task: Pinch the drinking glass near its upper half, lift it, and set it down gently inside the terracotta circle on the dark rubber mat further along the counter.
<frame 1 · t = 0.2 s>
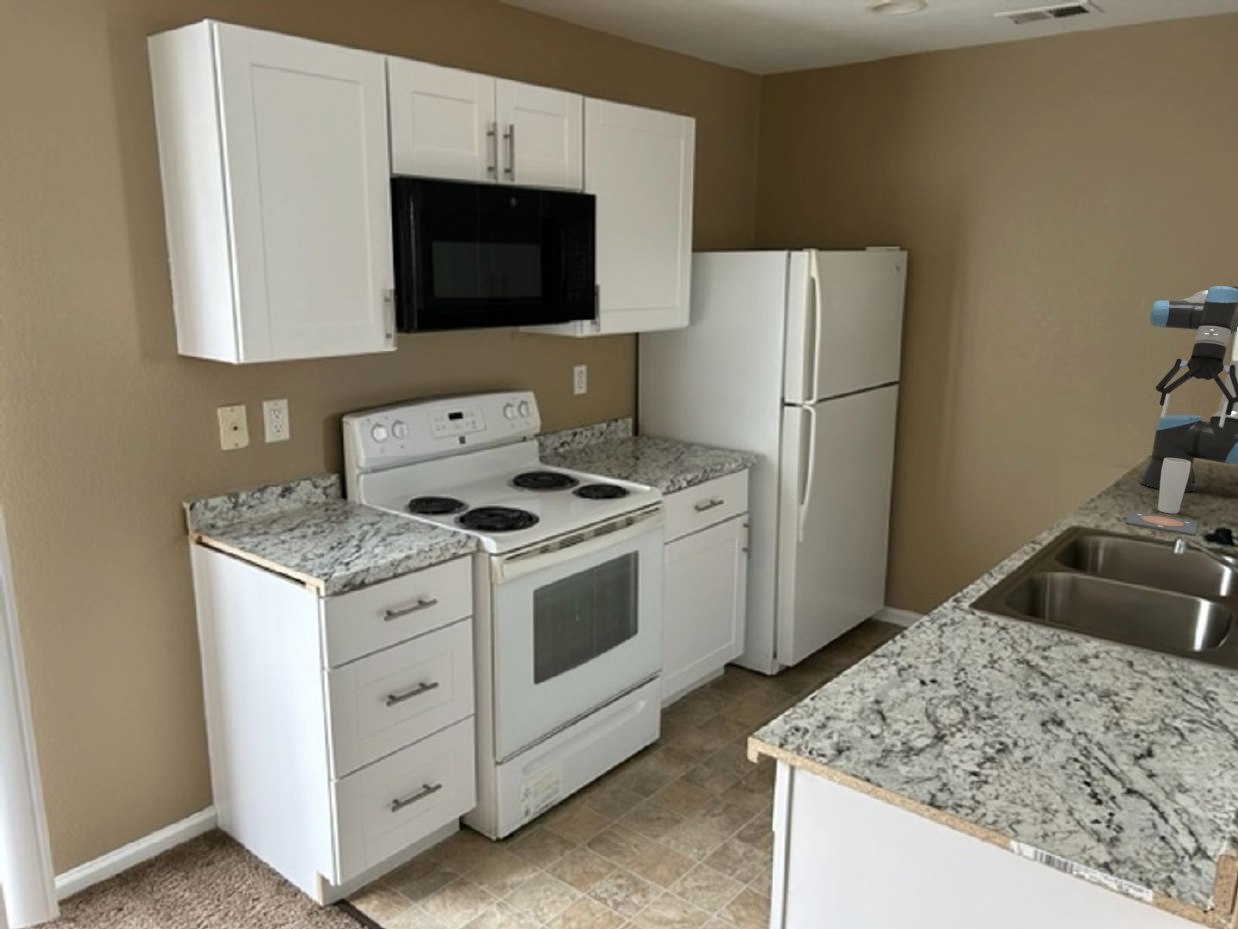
hand: (1191, 422, 249), 27 cm above the worktop, tool pointing down, fingers open, 13 cm apart
coaster mat: (1161, 523, 249), on the worktop
drinking glass: (1167, 512, 263), on the worktop
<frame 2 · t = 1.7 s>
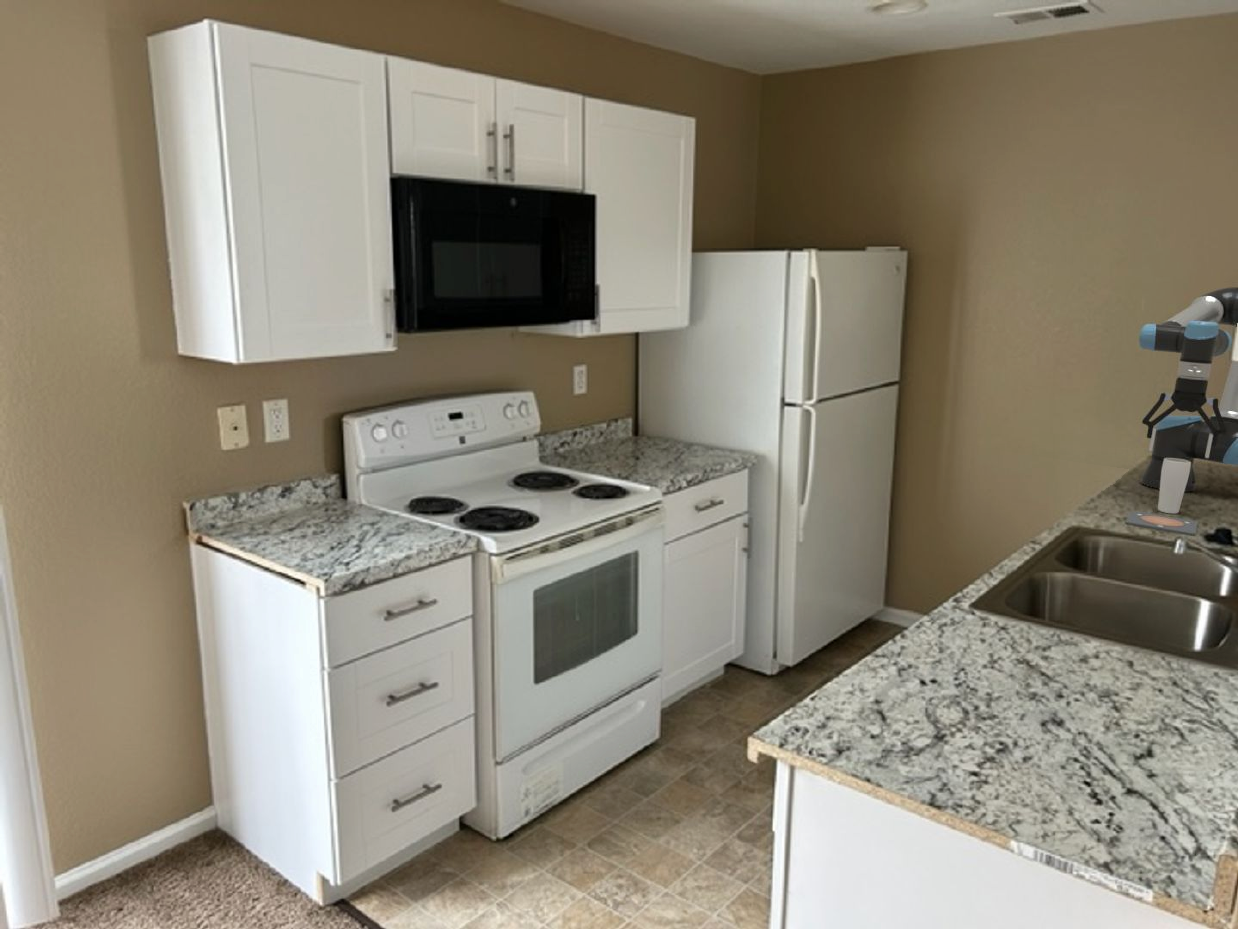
hand: (1178, 453, 259), 17 cm above the worktop, tool pointing down, fingers open, 13 cm apart
nothing on the worktop moved.
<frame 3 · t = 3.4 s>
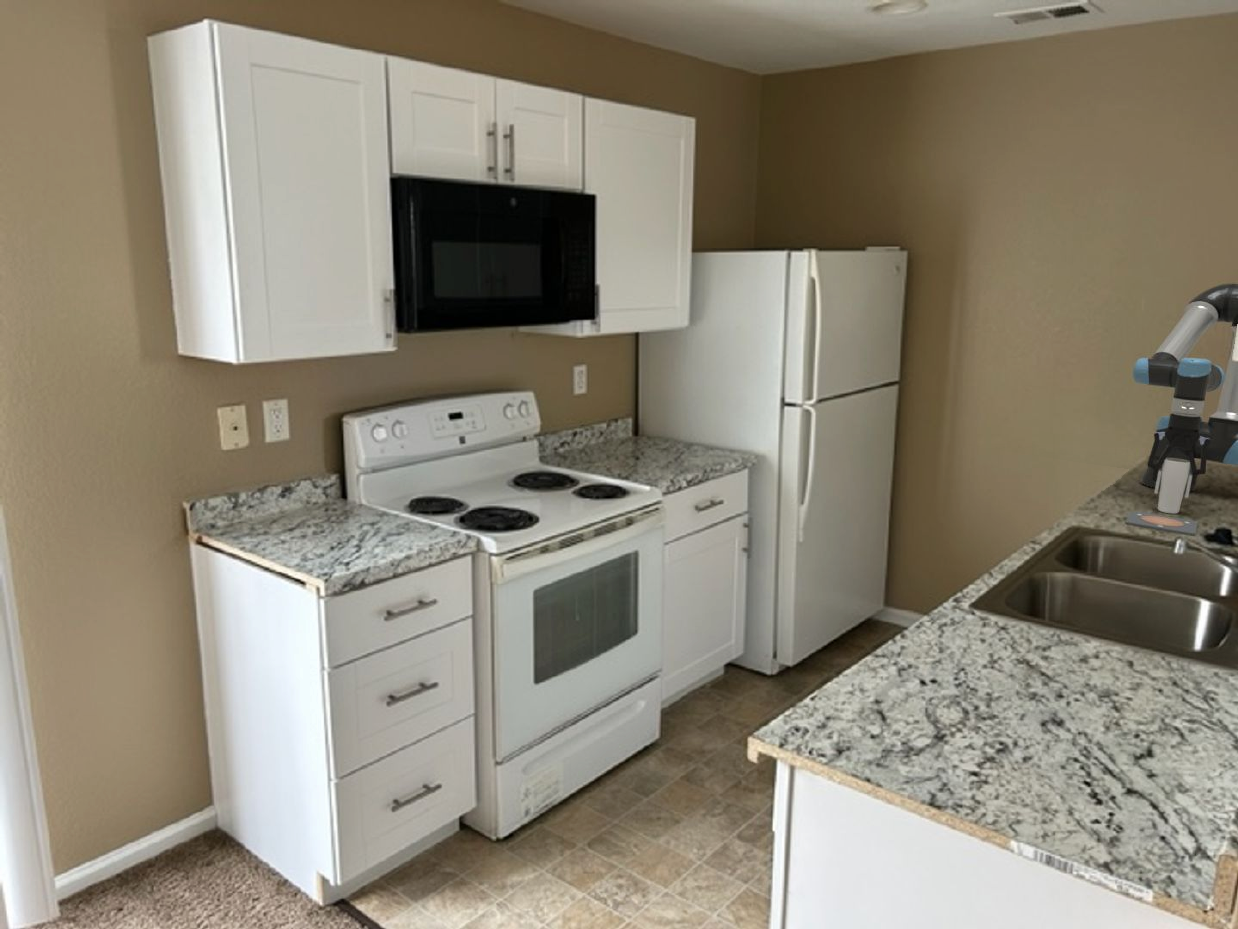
hand: (1171, 494, 262), 5 cm above the worktop, tool pointing down, fingers closed on drinking glass, 7 cm apart
drinking glass: (1167, 512, 263), on the worktop, touching gripper
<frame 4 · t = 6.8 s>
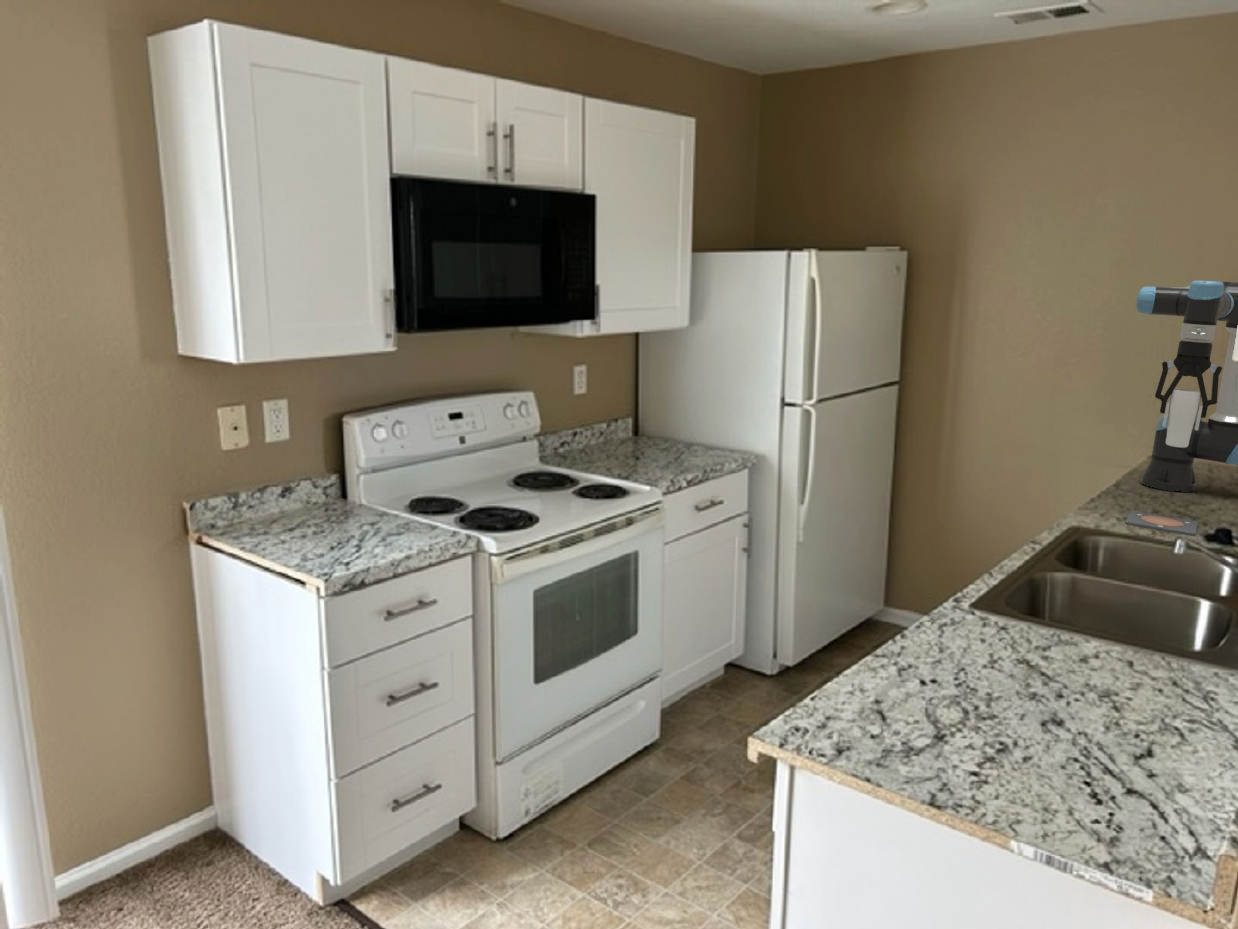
hand: (1179, 427, 247), 26 cm above the worktop, tool pointing down, fingers closed on drinking glass, 7 cm apart
drinking glass: (1176, 446, 248), point 21 cm above the worktop, touching gripper
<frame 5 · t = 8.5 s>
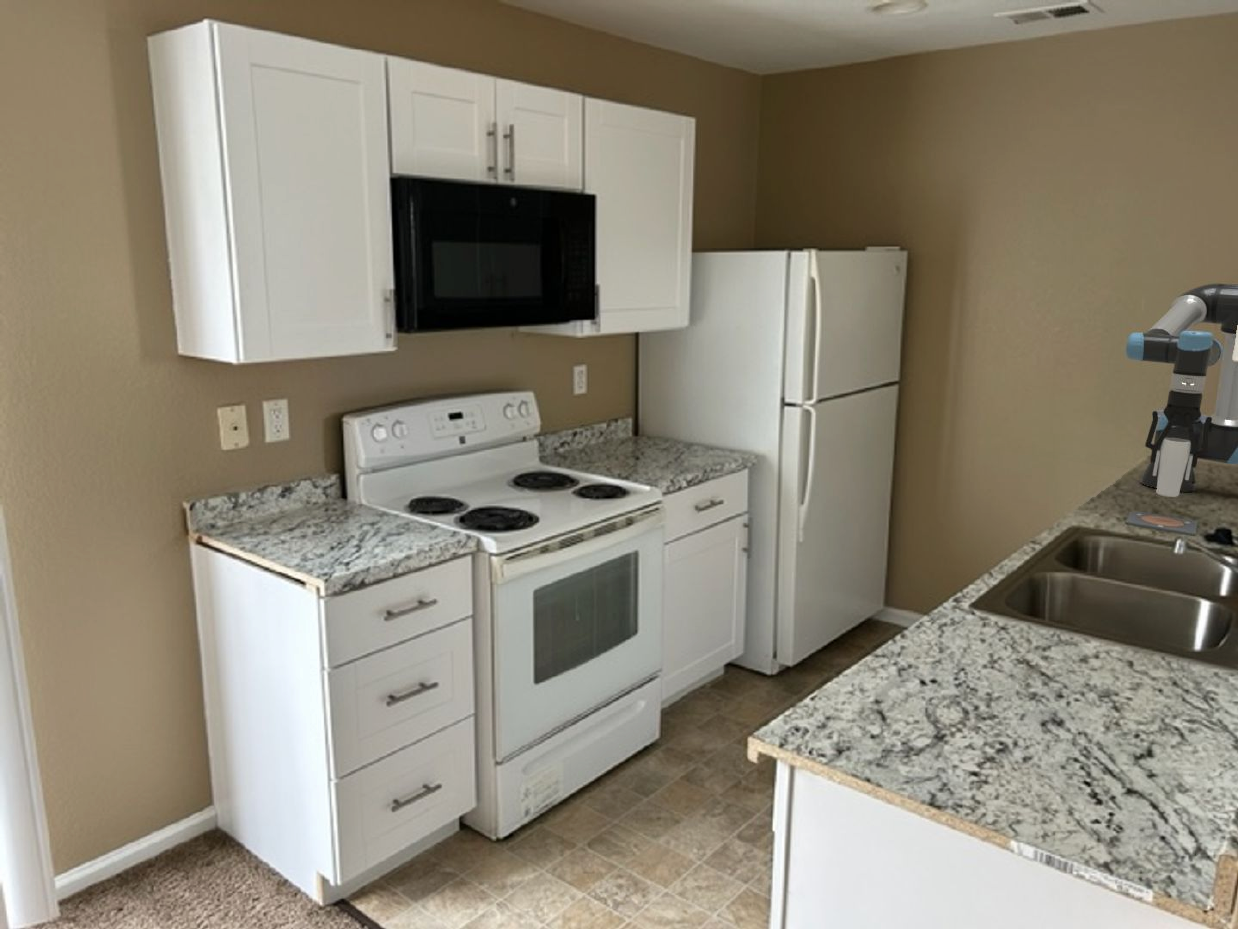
hand: (1170, 476, 246), 13 cm above the worktop, tool pointing down, fingers closed on drinking glass, 7 cm apart
drinking glass: (1166, 495, 247), point 8 cm above the worktop, touching gripper
when the fingers open (7 cm above the worktop, at t = 10.1 s): drinking glass drops 1 cm, resting on coaster mat.
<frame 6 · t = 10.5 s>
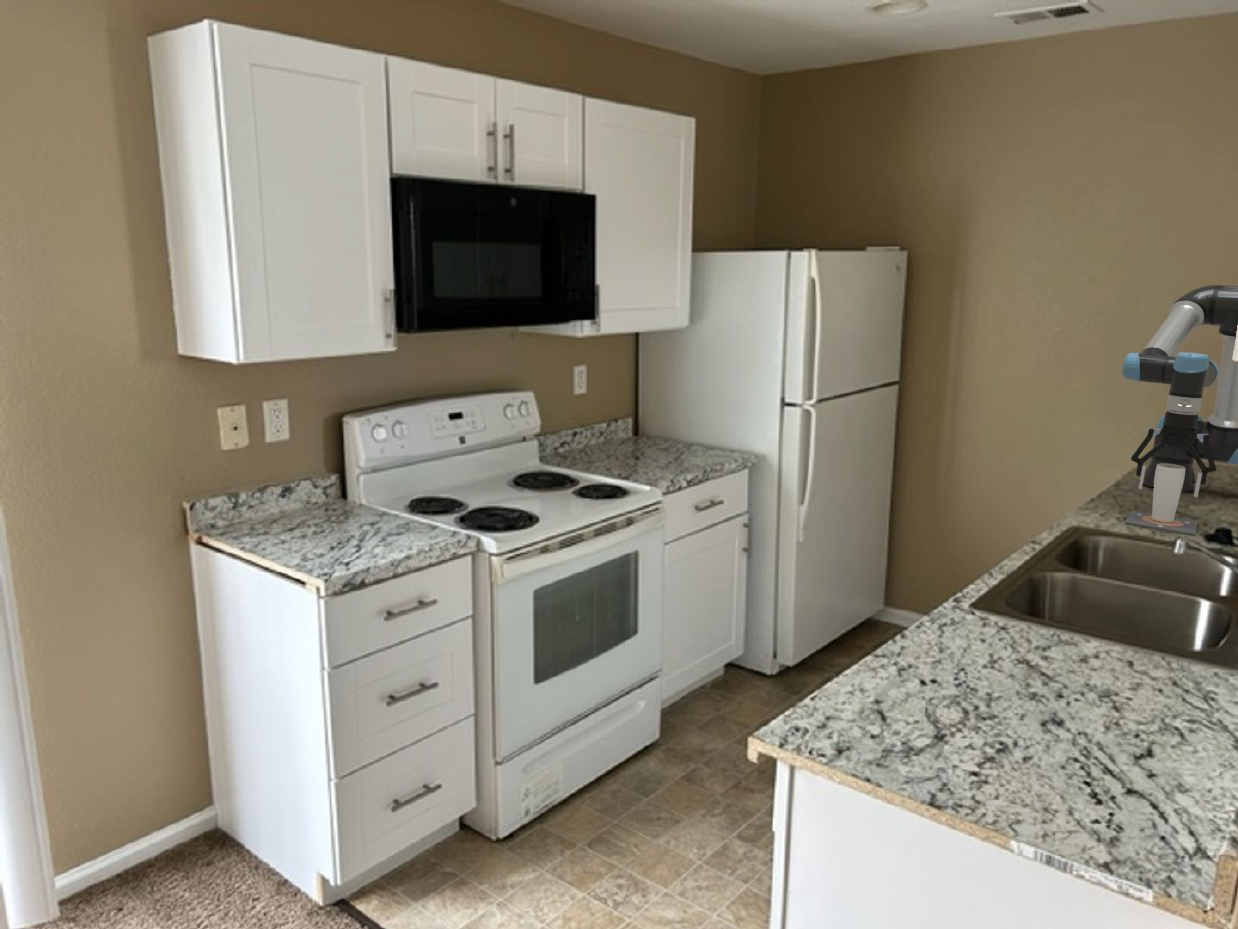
hand: (1167, 492, 247), 9 cm above the worktop, tool pointing down, fingers open, 12 cm apart
drinking glass: (1162, 521, 249), point 1 cm above the worktop, touching coaster mat
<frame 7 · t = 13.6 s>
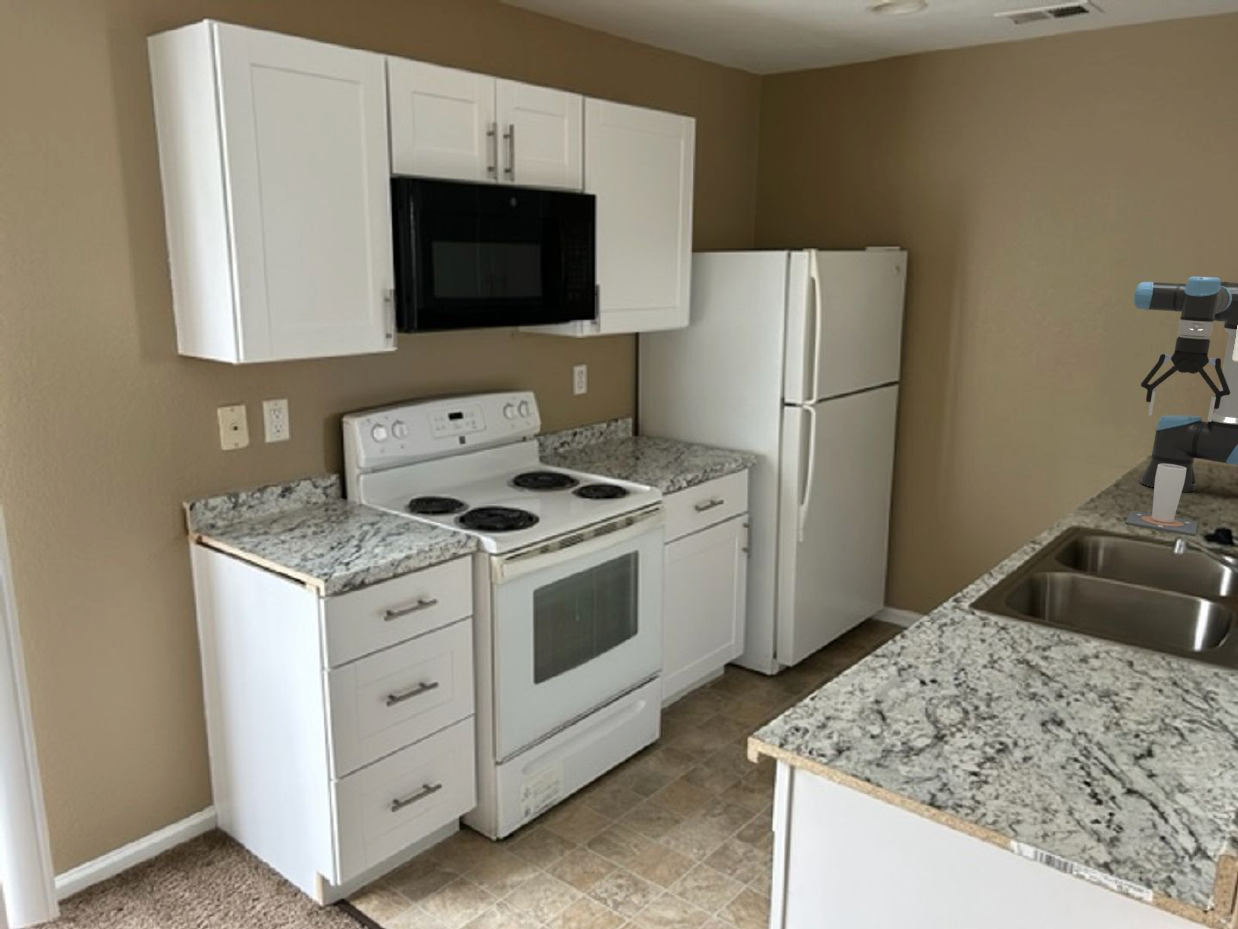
hand: (1179, 417, 246), 28 cm above the worktop, tool pointing down, fingers open, 13 cm apart
nothing on the worktop moved.
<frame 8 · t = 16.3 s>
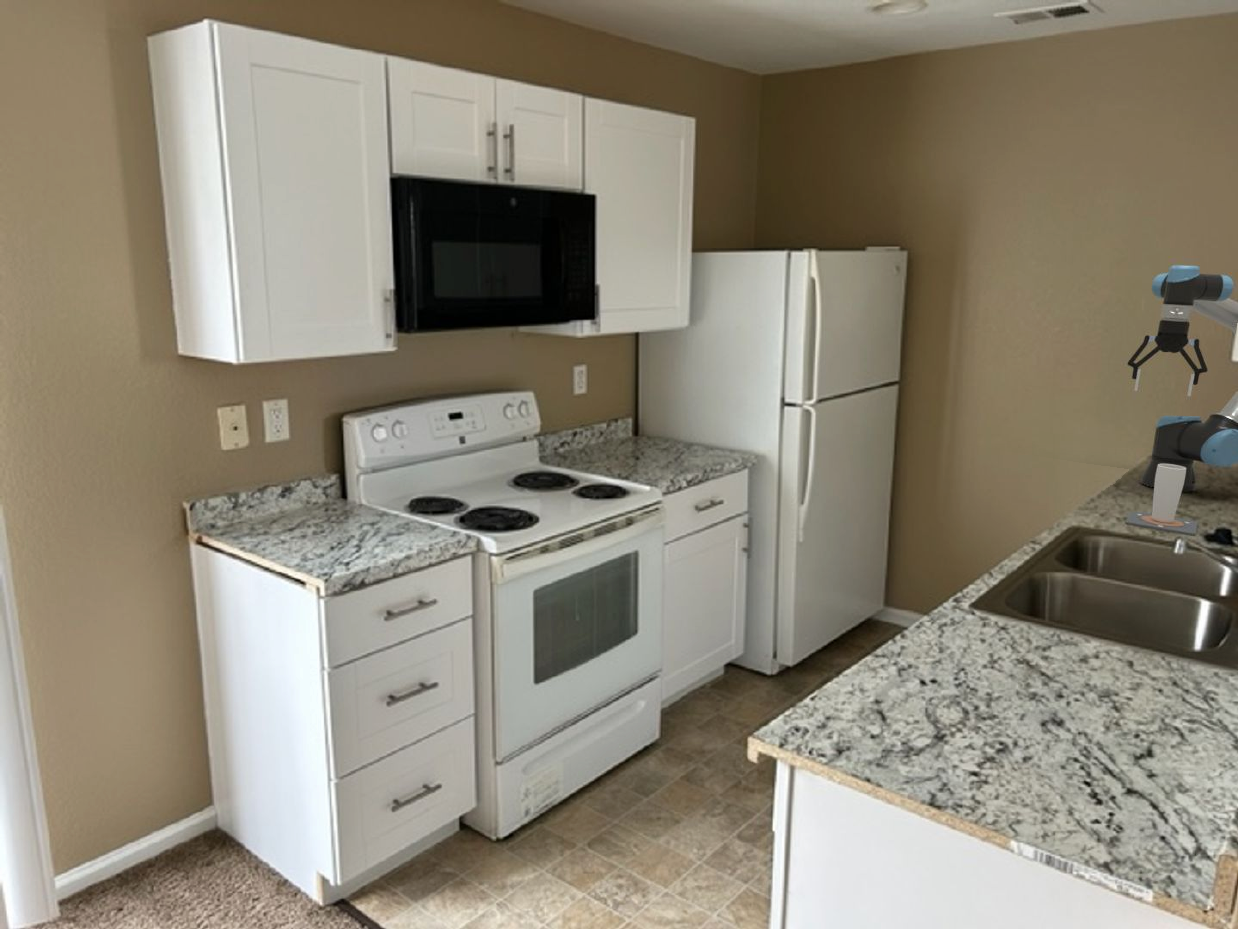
hand: (1161, 393, 272), 32 cm above the worktop, tool pointing down, fingers open, 13 cm apart
nothing on the worktop moved.
at the end: drinking glass 0.0 cm off-centre on the coaster mat, point 0.6 cm above the coaster mat's base; drinking glass tilted 0°; the gripper is holding nothing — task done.
